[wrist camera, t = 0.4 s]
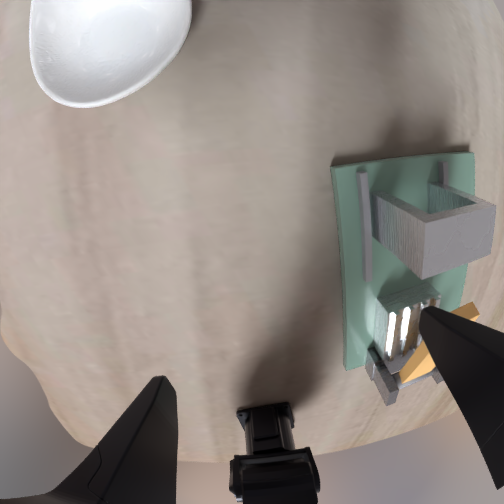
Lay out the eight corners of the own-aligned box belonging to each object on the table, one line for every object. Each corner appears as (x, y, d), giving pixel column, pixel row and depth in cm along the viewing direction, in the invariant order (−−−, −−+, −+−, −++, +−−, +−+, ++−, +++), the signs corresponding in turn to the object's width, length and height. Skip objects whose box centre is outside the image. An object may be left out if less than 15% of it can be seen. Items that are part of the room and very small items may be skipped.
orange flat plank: (423, 363, 24) (429, 377, 23) (389, 377, 24) (394, 392, 23) (474, 296, 15) (485, 315, 14) (431, 315, 16) (442, 337, 14)
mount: (419, 347, 27) (443, 381, 22) (365, 368, 28) (384, 408, 22) (424, 327, 26) (451, 362, 21) (366, 348, 26) (389, 390, 21)
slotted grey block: (420, 327, 26) (433, 344, 23) (373, 344, 26) (384, 363, 23) (427, 281, 23) (444, 297, 21) (376, 298, 24) (390, 317, 21)
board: (449, 324, 28) (456, 332, 26) (343, 364, 28) (348, 375, 27) (467, 151, 19) (479, 154, 18) (330, 166, 20) (338, 169, 18)
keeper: (435, 220, 21) (490, 254, 14) (371, 236, 21) (421, 279, 14) (436, 181, 19) (496, 205, 13) (369, 192, 20) (425, 223, 13)
